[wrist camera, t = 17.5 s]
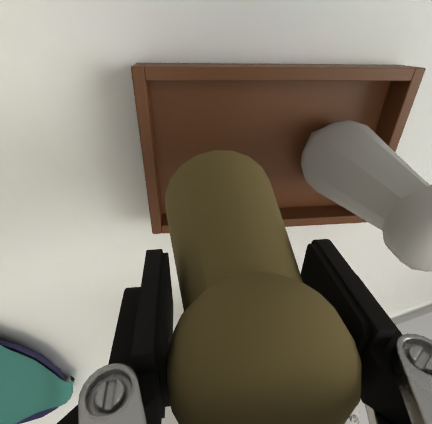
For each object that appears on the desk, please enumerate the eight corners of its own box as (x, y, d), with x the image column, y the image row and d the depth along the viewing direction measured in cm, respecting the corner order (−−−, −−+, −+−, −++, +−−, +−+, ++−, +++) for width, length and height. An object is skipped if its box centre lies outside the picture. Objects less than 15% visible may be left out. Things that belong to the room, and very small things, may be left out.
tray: (398, 64, 21) (426, 68, 19) (353, 206, 28) (370, 222, 26) (136, 62, 19) (130, 66, 17) (154, 216, 26) (152, 234, 24)
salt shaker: (308, 192, 25) (407, 308, 14) (279, 142, 23) (375, 240, 12) (368, 154, 24) (527, 251, 13) (346, 97, 21) (523, 160, 10)
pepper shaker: (284, 221, 17) (413, 443, 8) (193, 257, 18) (211, 502, 8) (252, 130, 14) (406, 320, 4) (143, 179, 14) (81, 433, 5)
